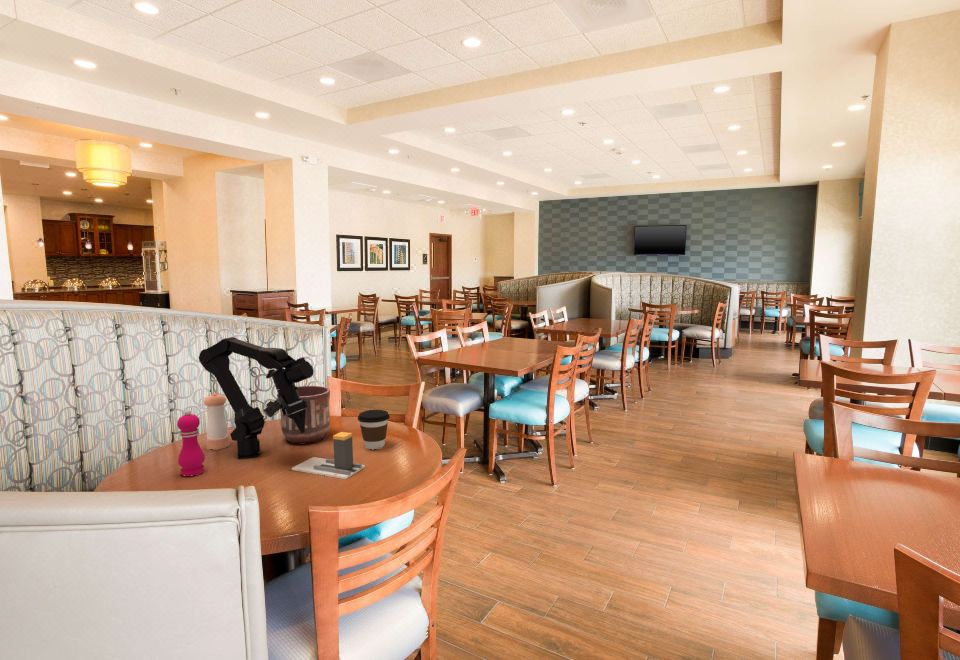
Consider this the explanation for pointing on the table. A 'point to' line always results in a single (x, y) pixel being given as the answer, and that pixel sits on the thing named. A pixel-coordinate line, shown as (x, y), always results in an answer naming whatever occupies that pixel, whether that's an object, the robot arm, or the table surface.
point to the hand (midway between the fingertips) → (302, 432)
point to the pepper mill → (190, 445)
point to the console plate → (326, 468)
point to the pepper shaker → (216, 422)
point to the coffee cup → (374, 428)
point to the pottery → (309, 416)
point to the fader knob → (343, 451)
